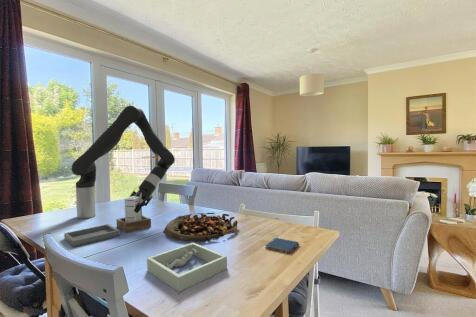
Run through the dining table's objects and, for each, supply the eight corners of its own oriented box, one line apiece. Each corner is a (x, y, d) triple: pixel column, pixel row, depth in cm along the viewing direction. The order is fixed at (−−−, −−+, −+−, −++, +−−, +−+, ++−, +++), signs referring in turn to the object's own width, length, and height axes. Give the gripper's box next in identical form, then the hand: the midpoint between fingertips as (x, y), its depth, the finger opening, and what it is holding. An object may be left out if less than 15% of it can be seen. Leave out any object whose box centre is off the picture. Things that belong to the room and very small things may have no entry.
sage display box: (147, 270, 82) (146, 258, 82) (193, 253, 95) (193, 242, 95) (178, 291, 70) (178, 277, 69) (227, 268, 83) (226, 256, 82)
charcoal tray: (64, 238, 112) (64, 233, 112) (108, 229, 125) (108, 224, 125) (73, 247, 102) (72, 241, 102) (119, 235, 115) (119, 230, 115)
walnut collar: (116, 227, 127) (116, 219, 127) (140, 221, 136) (139, 214, 136) (126, 232, 119) (126, 224, 119) (151, 226, 128) (150, 218, 128)
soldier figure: (160, 271, 83) (184, 248, 93) (170, 282, 83) (193, 257, 92) (167, 261, 79) (192, 237, 88) (178, 272, 78) (202, 247, 88)
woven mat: (290, 256, 93) (290, 250, 93) (264, 250, 98) (264, 244, 98) (300, 246, 101) (300, 241, 101) (275, 241, 107) (275, 236, 107)
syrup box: (135, 228, 124) (135, 198, 124) (125, 227, 126) (124, 198, 125) (142, 224, 130) (141, 196, 129) (132, 224, 131) (131, 195, 130)
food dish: (246, 225, 132) (246, 210, 132) (221, 251, 101) (221, 232, 101) (186, 217, 144) (186, 203, 143) (147, 238, 113) (147, 221, 112)
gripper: (137, 178, 137) (117, 204, 128) (154, 180, 129) (134, 208, 120) (145, 187, 142) (127, 213, 132) (163, 189, 134) (144, 217, 124)
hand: (130, 210), depth 126 cm, fingers closed on syrup box, 7 cm apart
